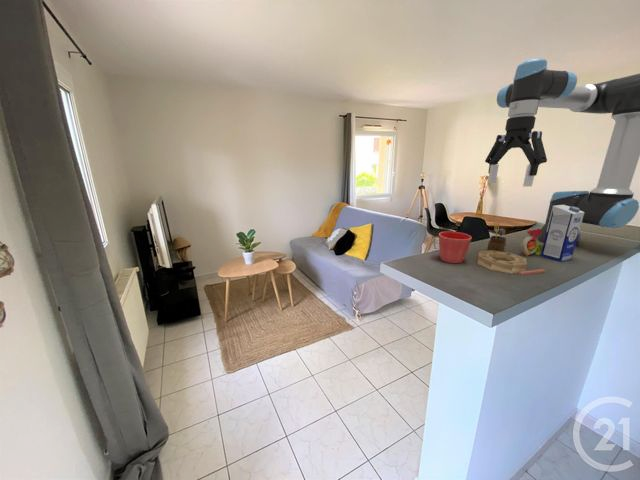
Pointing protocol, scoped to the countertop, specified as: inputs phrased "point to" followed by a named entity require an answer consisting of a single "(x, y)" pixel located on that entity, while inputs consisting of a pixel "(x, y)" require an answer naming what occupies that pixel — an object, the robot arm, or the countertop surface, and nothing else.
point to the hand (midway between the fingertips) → (508, 184)
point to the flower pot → (453, 246)
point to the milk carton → (562, 232)
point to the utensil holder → (497, 242)
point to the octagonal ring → (502, 261)
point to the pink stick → (532, 272)
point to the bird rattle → (531, 246)
